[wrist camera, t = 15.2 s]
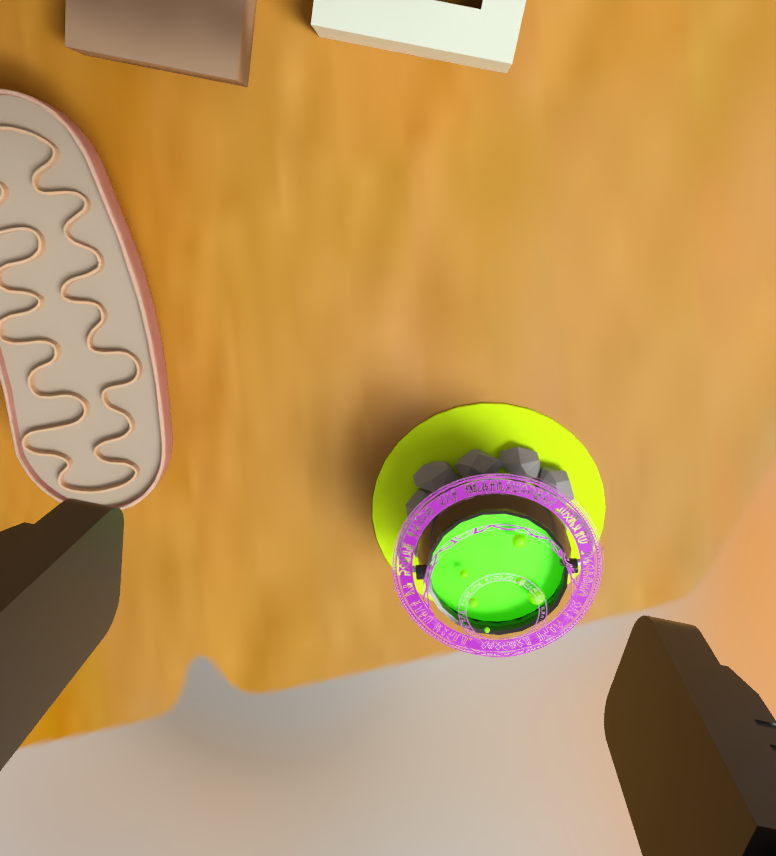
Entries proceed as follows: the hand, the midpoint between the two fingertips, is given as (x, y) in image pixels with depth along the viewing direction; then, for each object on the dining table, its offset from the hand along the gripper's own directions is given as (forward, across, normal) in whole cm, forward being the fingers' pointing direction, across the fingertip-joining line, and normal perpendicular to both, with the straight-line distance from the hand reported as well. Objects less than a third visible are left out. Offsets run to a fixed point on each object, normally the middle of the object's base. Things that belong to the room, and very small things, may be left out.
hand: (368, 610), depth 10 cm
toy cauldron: (+30, -7, +12) cm, 33 cm away
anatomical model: (+30, +19, +4) cm, 36 cm away
